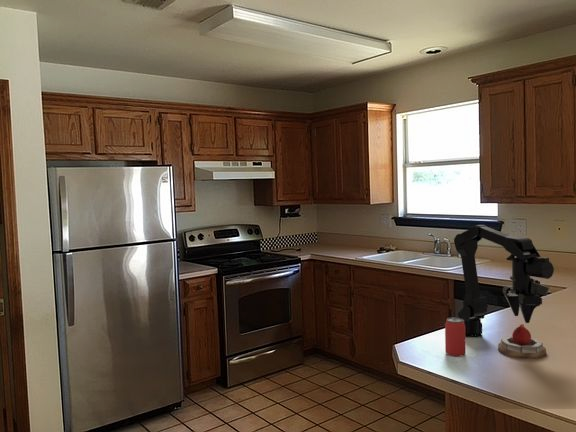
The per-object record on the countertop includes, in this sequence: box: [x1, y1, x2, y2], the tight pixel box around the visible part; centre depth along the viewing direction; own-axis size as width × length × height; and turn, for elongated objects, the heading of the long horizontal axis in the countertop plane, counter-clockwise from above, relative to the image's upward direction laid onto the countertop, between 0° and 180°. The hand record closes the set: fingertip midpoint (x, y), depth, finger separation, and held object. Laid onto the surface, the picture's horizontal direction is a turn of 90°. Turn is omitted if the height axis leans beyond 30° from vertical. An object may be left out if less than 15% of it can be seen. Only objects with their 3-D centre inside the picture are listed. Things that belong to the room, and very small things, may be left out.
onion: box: [511, 323, 532, 346], centre depth 169 cm, size 6×6×8 cm
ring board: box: [497, 335, 547, 360], centre depth 169 cm, size 15×15×4 cm
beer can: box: [444, 317, 467, 358], centre depth 168 cm, size 7×7×12 cm
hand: (521, 319), depth 168 cm, fingers open, 9 cm apart
